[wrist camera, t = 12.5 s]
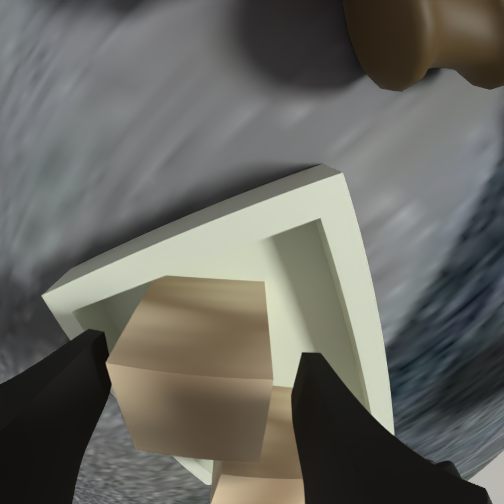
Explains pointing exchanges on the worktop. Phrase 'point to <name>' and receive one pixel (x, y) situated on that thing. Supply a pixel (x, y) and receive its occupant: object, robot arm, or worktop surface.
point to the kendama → (427, 39)
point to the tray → (255, 269)
